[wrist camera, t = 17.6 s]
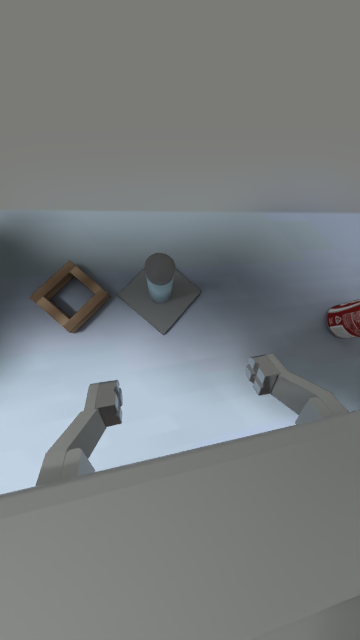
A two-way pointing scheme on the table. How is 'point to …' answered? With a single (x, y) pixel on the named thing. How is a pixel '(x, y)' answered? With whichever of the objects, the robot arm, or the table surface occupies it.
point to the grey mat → (159, 312)
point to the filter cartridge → (160, 276)
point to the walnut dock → (56, 284)
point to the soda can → (344, 319)
